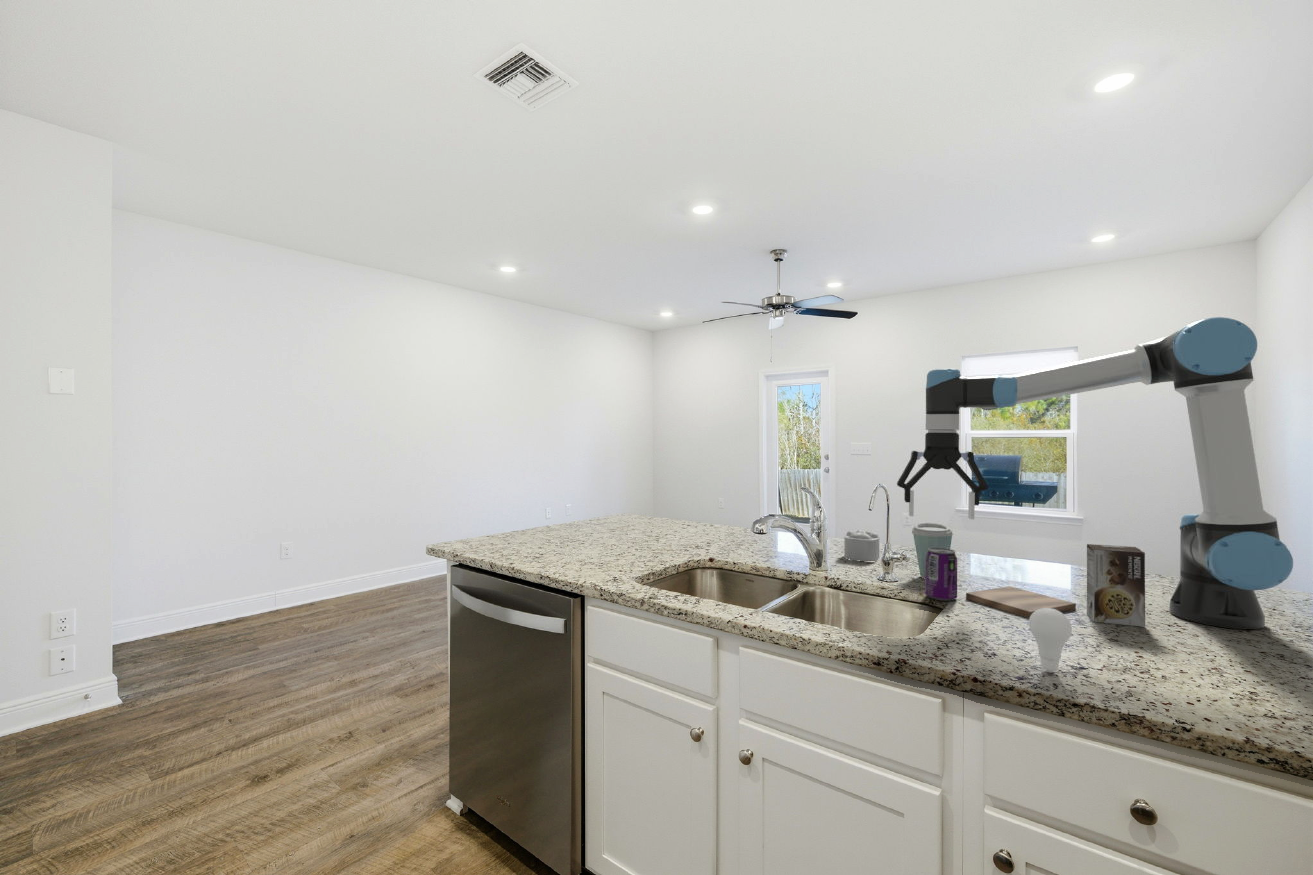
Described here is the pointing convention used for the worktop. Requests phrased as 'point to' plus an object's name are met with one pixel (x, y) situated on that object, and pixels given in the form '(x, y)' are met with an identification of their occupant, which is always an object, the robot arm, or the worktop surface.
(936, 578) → the beverage can
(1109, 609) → the coffee box
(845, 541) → the lumpy-topped squat cylinder
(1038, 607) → the walnut board
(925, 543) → the disposable coffee cup
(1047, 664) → the lightbulb
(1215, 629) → the worktop surface
